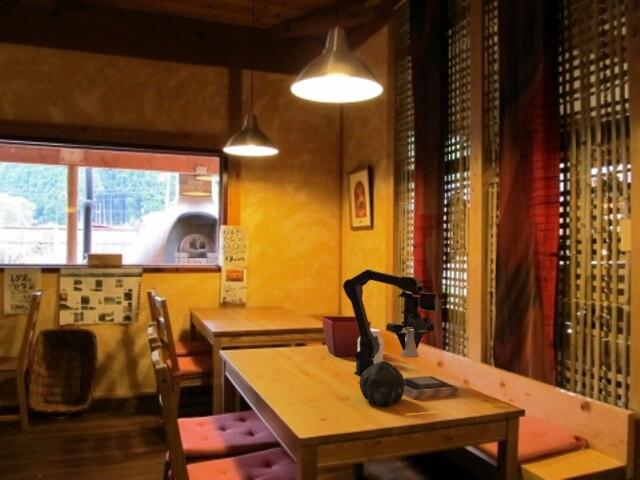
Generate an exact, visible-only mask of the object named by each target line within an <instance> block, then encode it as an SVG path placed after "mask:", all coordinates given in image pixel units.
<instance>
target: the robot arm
mask: <svg viewBox="0 0 640 480" xmlns="http://www.w3.org/2000/svg"><path fill="white" fill-rule="evenodd" d="M370 281H374V282H379V283H382V284H386V285H387V284H388V285H391V286H395V287H397V288H398V289H400V290H402V292H401V293H400V294H399V295H398V297H399V298H403V310H402V311H401V314H403V317H402V318H403V321H401V323H398V322H388V323H387V324H386V326H385V331H388V332H391V333H395V335H396V337H397V339H398V341H399V345H400V346H401V349H402V350H405V342H406V337H407V332H406V330H414V331H415V332H414V341H415V345H416V348H417V349H418V348H419V345H420V344H421V343H420V342H421V341H422V338H423V337H424V335H426V334H428V332H435V324H434V323H433V322H432V320H431V318H430V317H428V316H427V317H422V316H421V315H422V314H421V312H419V308H420V309H421V310H422V311H428V312H431V311H432V312H438V311H439V306H440V301H439V296H438V293H437V292H432V293H429V292H426V290H425V288H423V286H422V283H421V280H420V279H419V278H418V277H417V276H408V275H407V276H406V275H405V276H403V275H402V276H401V275H400V276H399V275H394V274H389V273H385V272H381V271H377V270H373V269H370V268H369V269H365V270H363V271H362V272H360V273H359V274H357V275H355V276H353V277H352V278H347V279H346V280H345V281H344V282H343V284H342V288H343V289H342V290H343V291H344V293H345V295H346V297H347V298H348V300H349V301H350V303H351V306H352V311H353V313H354V317H355V318H356V322H357V325H358V329H359V333H360V343H359V344H360V351H359V352H357V353H356V354H355V355H354V356H353V357H354V359H355V361H356V365H355V371H354V372H353V373H354V375H357V376H358V377H361V375H362V373H363V372H364V371H365V370H366V369H368V368H369V367H370V366H372V365H374V363H373V361H374V360H373V358H374V357H375V355H376V354H377V353H378V352H379V346H380V344H379V342H378V336H375V337H374V336H373V334H372V333H371V330H370V328H371V325H370V326H369V322H370V321H369V319H368V316H367V312H366V309H365V305H364V301H363V294H364V293H363V292H364V289H363V287H364V286H365V285H366V284H367V283H369V282H370ZM368 321H369V322H368Z"/></svg>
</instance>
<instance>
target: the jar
mask: <svg viewBox="0 0 640 480" xmlns="http://www.w3.org/2000/svg"><path fill="white" fill-rule="evenodd" d="M370 330H371V333H372V334H373V336H374V337H375V336H378V342H379V344H380V346H379V352H378V353H377V354H376V355H375V357H374V358H373V360H374V361H373V363H374V364H376V363H378V362H381V361H384V359H383V358H384V340H383V338H382V336H381V330H380V329H377V328H371V327H370ZM359 343H360V337H359V339H358V352H359V351H360V344H359Z"/></svg>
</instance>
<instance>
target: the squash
mask: <svg viewBox="0 0 640 480" xmlns="http://www.w3.org/2000/svg"><path fill="white" fill-rule="evenodd" d="M404 386H405V383H404V376H403V374H402V373H401V372H400V371H399V370H398V368H396V367H395V366H394V365H392V364H391V363H390V362H388V361H386V360H383V361H381V362H378V363H376V364H374V365H372V366H370V367H369V368H368V369H366V370H365V371H364V372H363V373H362V375H361V376H360V378H359V388H360V391H361V394H362V396H363V398H364V399H365V400H367V401H370V402H372V403H375V404H376V405H377V406H383V405H384V406H386V407H389V406H390V405H392V404H398V403H400V401H401V400H402V398H403V396H404V395H403V393H404Z"/></svg>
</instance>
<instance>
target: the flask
mask: <svg viewBox="0 0 640 480" xmlns="http://www.w3.org/2000/svg"><path fill="white" fill-rule="evenodd" d="M414 332H415V331H414V329H410V330H405V333H407V335H406V337H405V350H403V349H402V350H401V353H400V356H401V357H403V358H409V359H410V358H413V359H416V358H420V355H419V352H418V348H416V345H415V341H414Z"/></svg>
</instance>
